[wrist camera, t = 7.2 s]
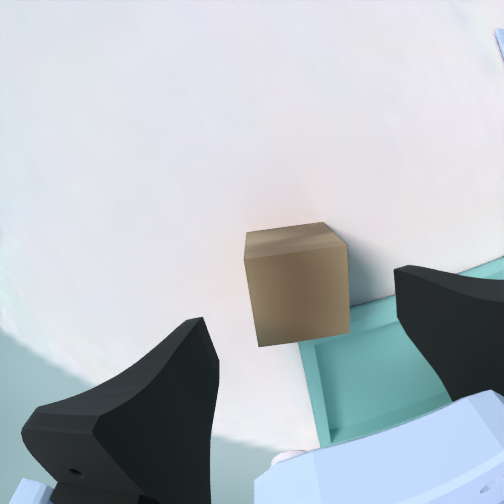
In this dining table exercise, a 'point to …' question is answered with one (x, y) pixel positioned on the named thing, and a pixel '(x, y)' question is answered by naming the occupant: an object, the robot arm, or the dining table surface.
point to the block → (297, 283)
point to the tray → (373, 372)
